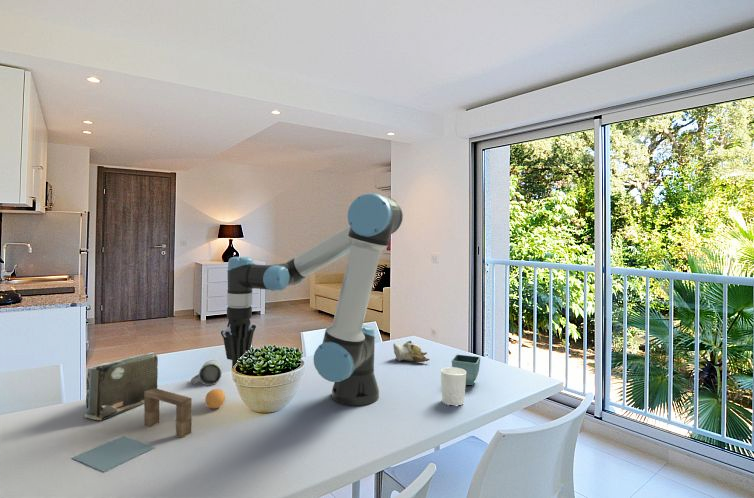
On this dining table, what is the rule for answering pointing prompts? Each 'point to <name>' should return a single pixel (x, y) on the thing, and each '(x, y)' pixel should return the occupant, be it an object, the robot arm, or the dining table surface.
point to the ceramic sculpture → (409, 352)
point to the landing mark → (113, 453)
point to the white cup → (453, 385)
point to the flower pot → (467, 366)
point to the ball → (215, 398)
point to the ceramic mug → (209, 373)
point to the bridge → (180, 401)
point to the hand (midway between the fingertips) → (237, 379)
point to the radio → (119, 385)
